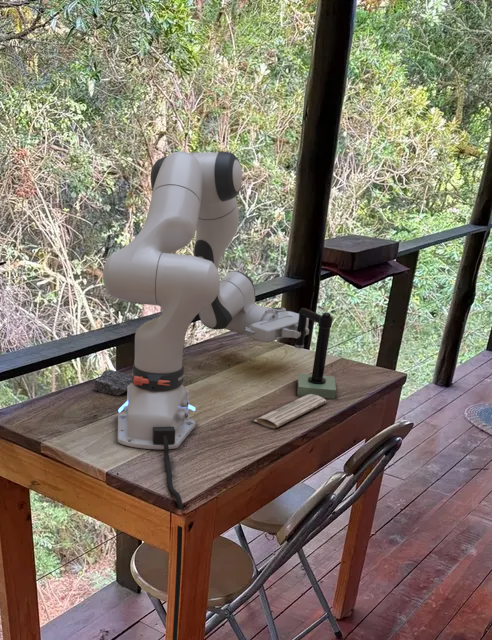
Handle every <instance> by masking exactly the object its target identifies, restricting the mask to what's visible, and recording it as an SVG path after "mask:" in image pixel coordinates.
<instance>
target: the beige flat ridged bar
mask: <svg viewBox="0 0 492 640" xmlns="http://www.w3.org/2000/svg"><path fill="white" fill-rule="evenodd" d="M326 403H327V399H326V398H322V397H320V396H318V395H313V394H308V395H305V396H300V397H298V398H297V399H295V400H293V401H291V402H288V403H286V404H285V405H283V406H280V407H279V408H276V409H273V410H272V411H270V412H268V413H266V414H263V415H261V416H260V417H257V418H256V419H254V420H253V422H255V423H257V424H260V425H262V426H264V427H266V428H269V429H277V428H279V427H281V426H283V425H285V424H287V423H289V422H291V421H293V420H295V419H297V418H298V417H300V416H302V415H304V414H307V413H308V412H311V411H312V410H315V409H317V408H318V407H321V406H322V405H324V404H326Z"/></svg>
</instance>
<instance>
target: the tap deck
mask: <svg viewBox="0 0 492 640" xmlns="http://www.w3.org/2000/svg"><path fill="white" fill-rule="evenodd" d="M309 377H312V373H311V374H310V373H300V372H299V373H297V380H296V395H297V396H298V397H299V396H300V397H303V396H305V395H308V394H313V395H318V396H320V397H322V398H324V399H333V400H334V399H336V394H337V386H336V378H335V376H334V375H324V374H323V378H324V379H326V383H324V384H313V383H310V382H308V378H309Z"/></svg>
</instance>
